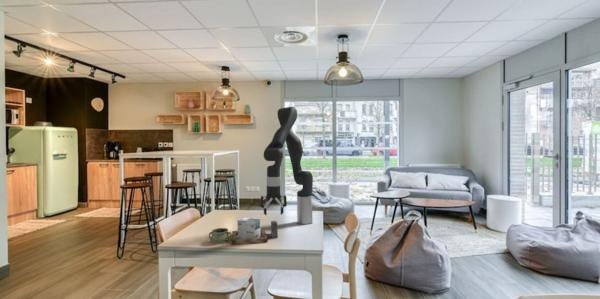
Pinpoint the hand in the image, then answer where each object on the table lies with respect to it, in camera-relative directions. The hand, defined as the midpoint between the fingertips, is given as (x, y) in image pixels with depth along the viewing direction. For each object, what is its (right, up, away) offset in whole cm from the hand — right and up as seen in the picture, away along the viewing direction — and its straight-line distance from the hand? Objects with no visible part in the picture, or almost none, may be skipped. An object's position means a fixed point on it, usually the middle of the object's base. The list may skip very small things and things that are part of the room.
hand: (273, 214), depth 171 cm
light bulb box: (-13, -13, -2) cm, 18 cm away
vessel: (-27, -13, -7) cm, 31 cm away
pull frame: (-10, -12, -2) cm, 16 cm away
